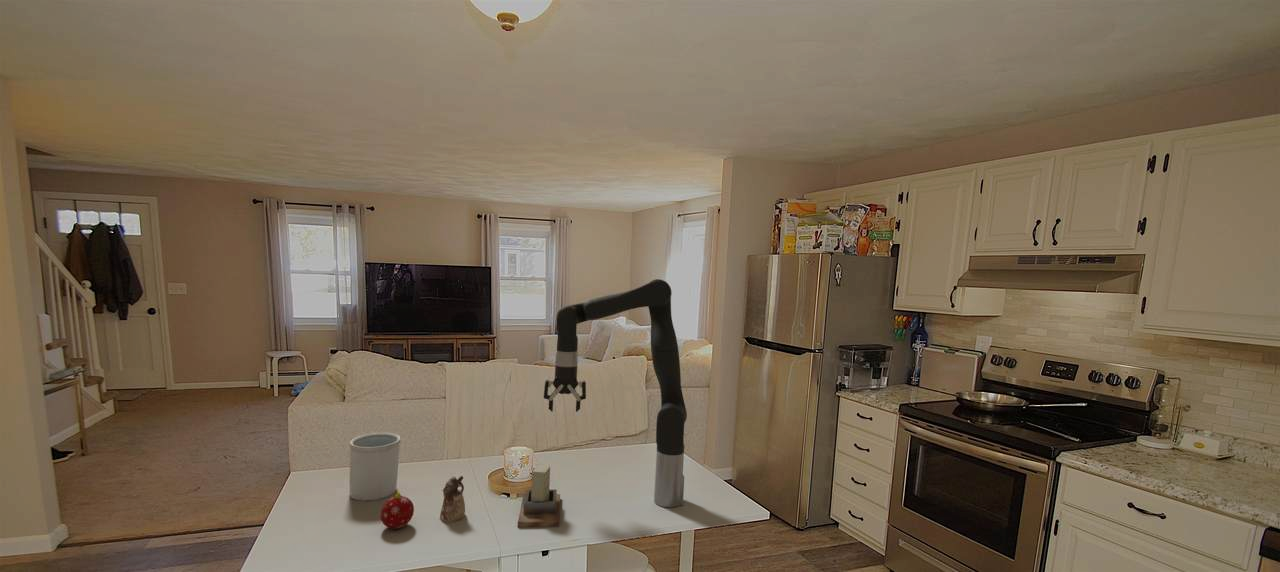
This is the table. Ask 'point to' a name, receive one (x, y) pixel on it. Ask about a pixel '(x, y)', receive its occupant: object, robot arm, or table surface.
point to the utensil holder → (373, 465)
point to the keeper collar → (540, 504)
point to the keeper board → (539, 517)
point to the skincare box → (540, 483)
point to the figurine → (453, 501)
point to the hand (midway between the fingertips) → (564, 411)
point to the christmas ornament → (397, 512)
